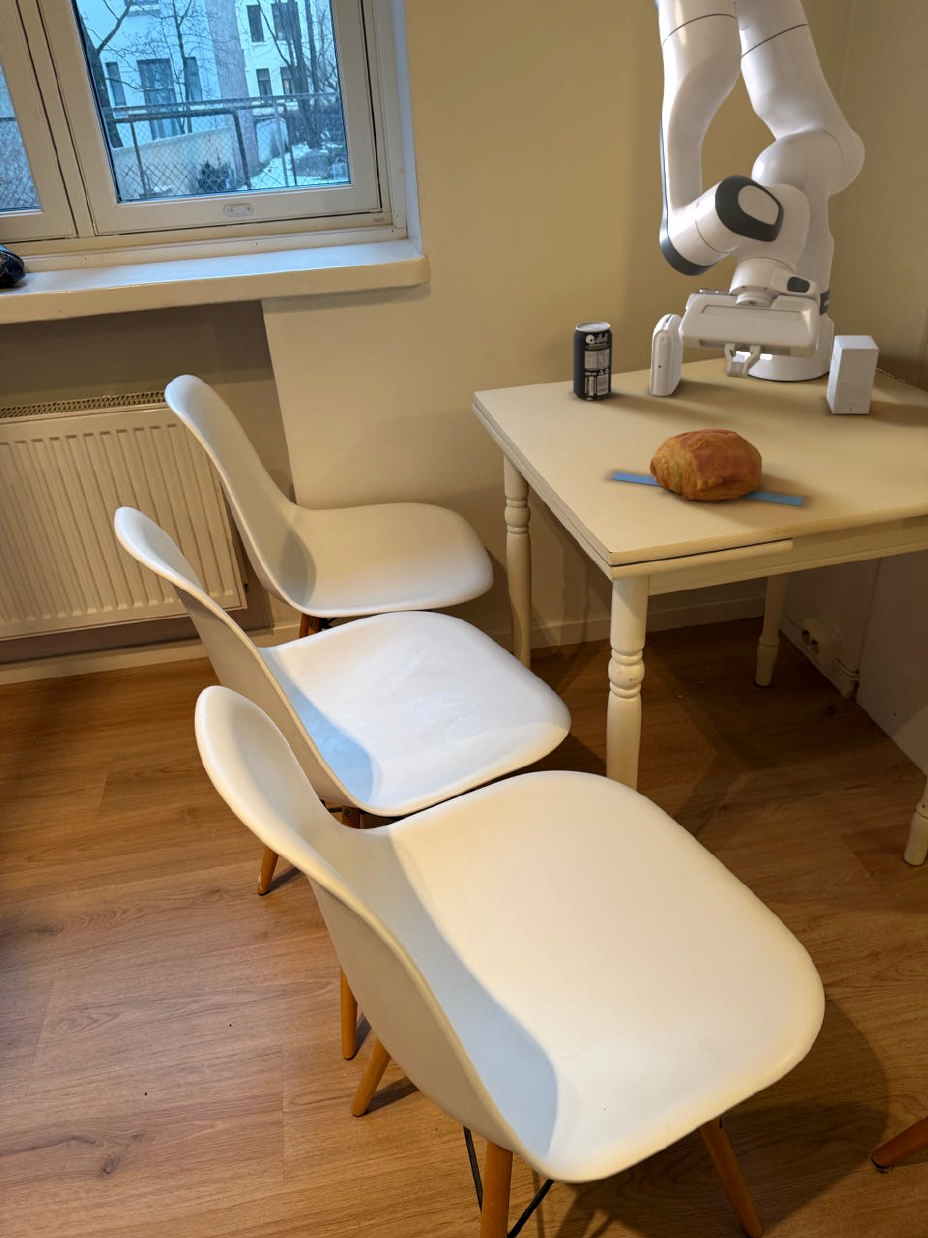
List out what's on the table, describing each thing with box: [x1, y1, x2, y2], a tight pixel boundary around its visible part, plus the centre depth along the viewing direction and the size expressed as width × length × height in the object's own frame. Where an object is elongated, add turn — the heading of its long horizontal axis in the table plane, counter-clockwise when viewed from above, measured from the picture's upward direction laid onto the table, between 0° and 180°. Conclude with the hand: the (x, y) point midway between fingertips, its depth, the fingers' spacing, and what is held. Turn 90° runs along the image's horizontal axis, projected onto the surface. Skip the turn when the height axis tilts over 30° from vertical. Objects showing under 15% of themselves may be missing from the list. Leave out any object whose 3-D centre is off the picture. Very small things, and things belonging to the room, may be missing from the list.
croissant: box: [649, 428, 763, 502], centre depth 129 cm, size 14×16×8 cm
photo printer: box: [649, 313, 684, 397], centre depth 163 cm, size 10×4×12 cm, turn 158°
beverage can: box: [572, 321, 613, 401], centre depth 162 cm, size 7×7×12 cm
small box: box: [825, 334, 880, 415], centre depth 150 cm, size 8×6×10 cm
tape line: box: [611, 472, 805, 507], centre depth 129 cm, size 2×26×1 cm, turn 63°
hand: (735, 375), depth 138 cm, fingers closed
